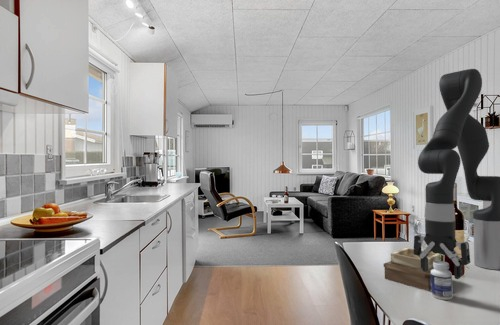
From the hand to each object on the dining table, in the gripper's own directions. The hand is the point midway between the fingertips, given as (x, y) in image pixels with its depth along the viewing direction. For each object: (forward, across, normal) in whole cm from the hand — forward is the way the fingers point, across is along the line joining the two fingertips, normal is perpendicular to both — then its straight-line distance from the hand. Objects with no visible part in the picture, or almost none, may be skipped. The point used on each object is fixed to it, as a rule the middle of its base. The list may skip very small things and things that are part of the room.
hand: (440, 274), depth 93 cm
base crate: (+6, +11, -8) cm, 15 cm away
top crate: (+1, +11, -8) cm, 14 cm away
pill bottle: (+7, 0, 0) cm, 7 cm away
